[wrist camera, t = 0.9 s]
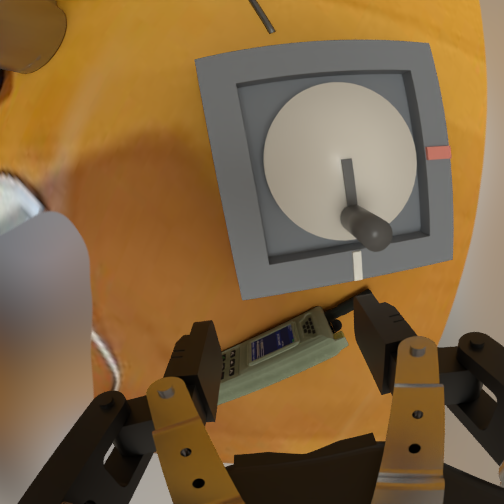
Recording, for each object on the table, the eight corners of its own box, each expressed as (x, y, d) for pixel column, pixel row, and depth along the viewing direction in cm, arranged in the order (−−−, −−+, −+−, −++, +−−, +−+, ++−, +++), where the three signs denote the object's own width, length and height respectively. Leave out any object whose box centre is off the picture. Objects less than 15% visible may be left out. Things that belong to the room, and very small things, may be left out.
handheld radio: (174, 367, 37) (362, 275, 33) (189, 383, 38) (372, 298, 34) (164, 404, 31) (385, 305, 27) (182, 421, 32) (394, 330, 28)
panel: (201, 70, 27) (193, 58, 22) (411, 52, 25) (430, 42, 21) (243, 283, 33) (242, 302, 29) (434, 247, 32) (454, 260, 28)
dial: (250, 95, 25) (248, 75, 18) (396, 83, 24) (437, 66, 17) (277, 246, 30) (284, 279, 22) (413, 223, 29) (454, 246, 21)
